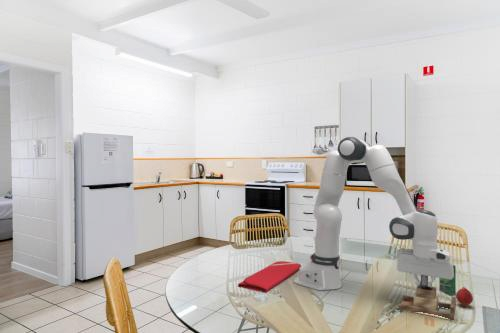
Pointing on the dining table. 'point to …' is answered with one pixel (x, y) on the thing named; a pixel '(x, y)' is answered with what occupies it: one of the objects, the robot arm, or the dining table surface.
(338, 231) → the robot arm
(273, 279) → the red folded cloth
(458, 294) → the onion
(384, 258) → the dining table surface
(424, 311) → the bay
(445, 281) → the coffee box
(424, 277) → the handle peg
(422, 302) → the crate
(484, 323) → the dining table surface
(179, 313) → the dining table surface
